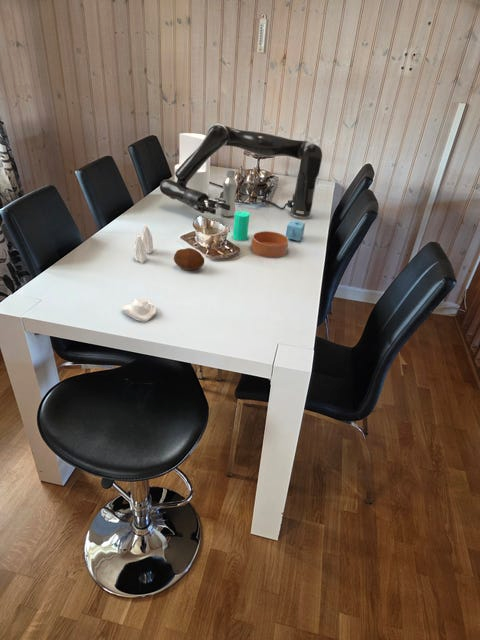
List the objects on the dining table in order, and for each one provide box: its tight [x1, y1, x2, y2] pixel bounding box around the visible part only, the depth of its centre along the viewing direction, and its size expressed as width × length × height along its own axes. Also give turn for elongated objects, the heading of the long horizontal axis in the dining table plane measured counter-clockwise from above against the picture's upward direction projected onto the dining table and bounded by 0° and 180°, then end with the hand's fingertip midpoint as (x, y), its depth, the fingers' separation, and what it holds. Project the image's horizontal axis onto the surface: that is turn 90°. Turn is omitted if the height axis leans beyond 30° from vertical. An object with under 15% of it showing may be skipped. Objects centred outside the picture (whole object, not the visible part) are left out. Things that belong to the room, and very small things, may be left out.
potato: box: [173, 247, 205, 271], centre depth 152 cm, size 8×11×8 cm
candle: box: [232, 209, 250, 242], centre depth 177 cm, size 6×6×12 cm
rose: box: [121, 298, 158, 323], centre depth 126 cm, size 10×4×10 cm
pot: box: [250, 230, 290, 259], centre depth 172 cm, size 14×14×5 cm
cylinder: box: [174, 132, 211, 198], centre depth 214 cm, size 17×17×28 cm
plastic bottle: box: [220, 170, 238, 218], centre depth 196 cm, size 6×7×20 cm
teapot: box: [285, 219, 306, 243], centre depth 182 cm, size 12×6×8 cm, turn 161°
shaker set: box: [133, 224, 154, 264], centre depth 156 cm, size 12×4×11 cm, turn 168°
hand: (222, 210), depth 182 cm, fingers open, 8 cm apart
